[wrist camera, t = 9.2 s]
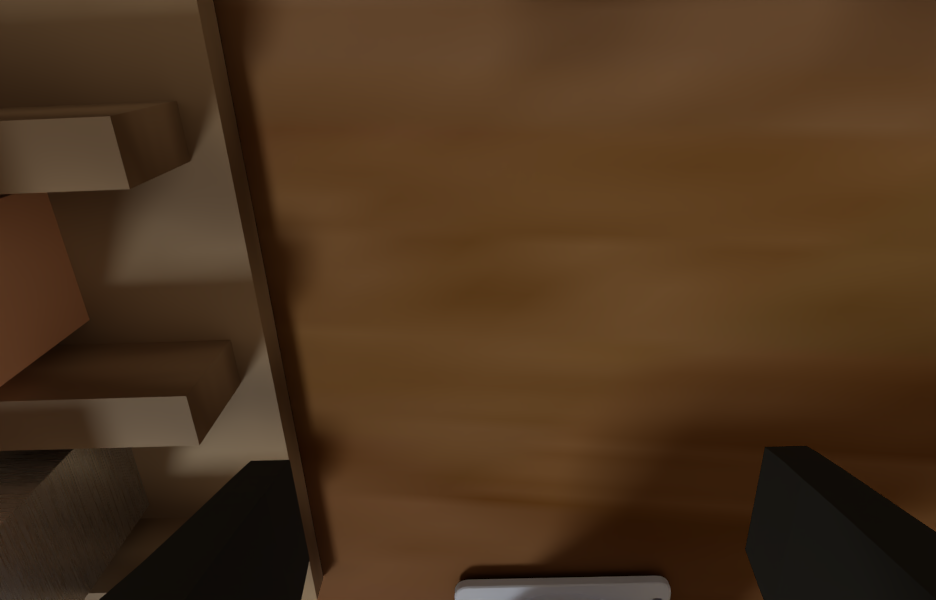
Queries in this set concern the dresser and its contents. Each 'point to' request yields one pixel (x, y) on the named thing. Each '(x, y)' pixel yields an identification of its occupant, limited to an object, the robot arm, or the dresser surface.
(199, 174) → the cable comb
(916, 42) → the dresser surface
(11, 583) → the grey plug
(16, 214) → the terracotta plug
